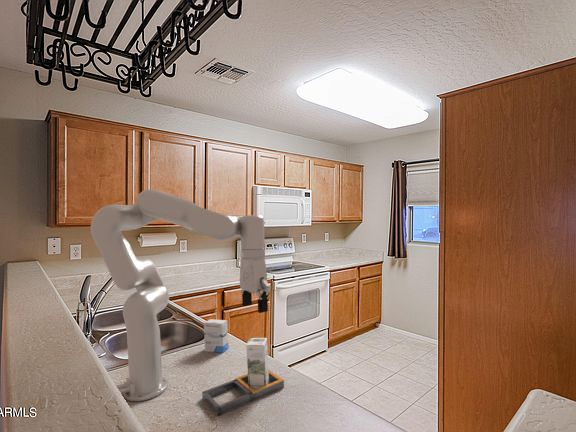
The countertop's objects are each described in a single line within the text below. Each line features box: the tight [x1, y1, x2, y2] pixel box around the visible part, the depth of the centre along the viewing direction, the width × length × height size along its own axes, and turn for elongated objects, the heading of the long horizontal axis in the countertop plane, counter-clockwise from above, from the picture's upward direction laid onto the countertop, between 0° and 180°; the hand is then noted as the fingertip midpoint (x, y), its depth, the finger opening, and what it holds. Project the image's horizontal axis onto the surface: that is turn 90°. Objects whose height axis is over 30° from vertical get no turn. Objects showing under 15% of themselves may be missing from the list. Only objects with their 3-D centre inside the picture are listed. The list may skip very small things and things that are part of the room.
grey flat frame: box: [201, 369, 285, 417], centre depth 96 cm, size 22×11×2 cm, turn 126°
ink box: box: [203, 318, 230, 354], centre depth 129 cm, size 8×5×12 cm, turn 71°
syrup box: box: [246, 337, 270, 390], centre depth 99 cm, size 6×6×14 cm
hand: (254, 308), depth 100 cm, fingers open, 9 cm apart
